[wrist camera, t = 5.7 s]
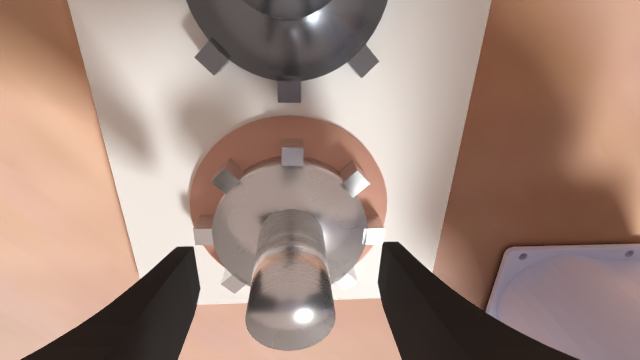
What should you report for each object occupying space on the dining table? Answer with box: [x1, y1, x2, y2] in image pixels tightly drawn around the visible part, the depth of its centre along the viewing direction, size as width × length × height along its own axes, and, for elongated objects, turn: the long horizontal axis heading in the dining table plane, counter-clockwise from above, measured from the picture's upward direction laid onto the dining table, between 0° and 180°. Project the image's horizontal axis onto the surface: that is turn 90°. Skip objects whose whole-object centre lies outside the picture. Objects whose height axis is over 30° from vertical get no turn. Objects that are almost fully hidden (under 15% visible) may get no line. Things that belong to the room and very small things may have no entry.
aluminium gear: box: [193, 138, 385, 351], centre depth 14 cm, size 9×9×6 cm
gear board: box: [67, 0, 492, 305], centre depth 15 cm, size 16×21×2 cm
